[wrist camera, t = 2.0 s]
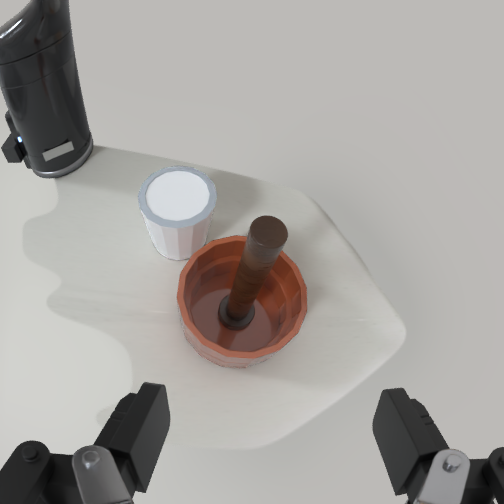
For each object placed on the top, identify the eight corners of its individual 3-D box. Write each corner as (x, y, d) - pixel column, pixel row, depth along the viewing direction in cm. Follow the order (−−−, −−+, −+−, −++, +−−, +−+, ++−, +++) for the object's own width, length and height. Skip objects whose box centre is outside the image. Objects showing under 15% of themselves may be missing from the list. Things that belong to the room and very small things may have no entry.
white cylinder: (148, 210, 33) (141, 165, 27) (210, 208, 34) (215, 164, 28) (145, 267, 30) (134, 229, 24) (214, 264, 31) (220, 226, 25)
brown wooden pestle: (216, 328, 28) (236, 254, 15) (219, 295, 29) (240, 202, 17) (252, 331, 28) (300, 262, 16) (253, 299, 29) (298, 210, 17)
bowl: (175, 362, 26) (170, 350, 21) (187, 261, 31) (187, 229, 26) (286, 371, 27) (307, 361, 22) (286, 273, 32) (305, 243, 27)
